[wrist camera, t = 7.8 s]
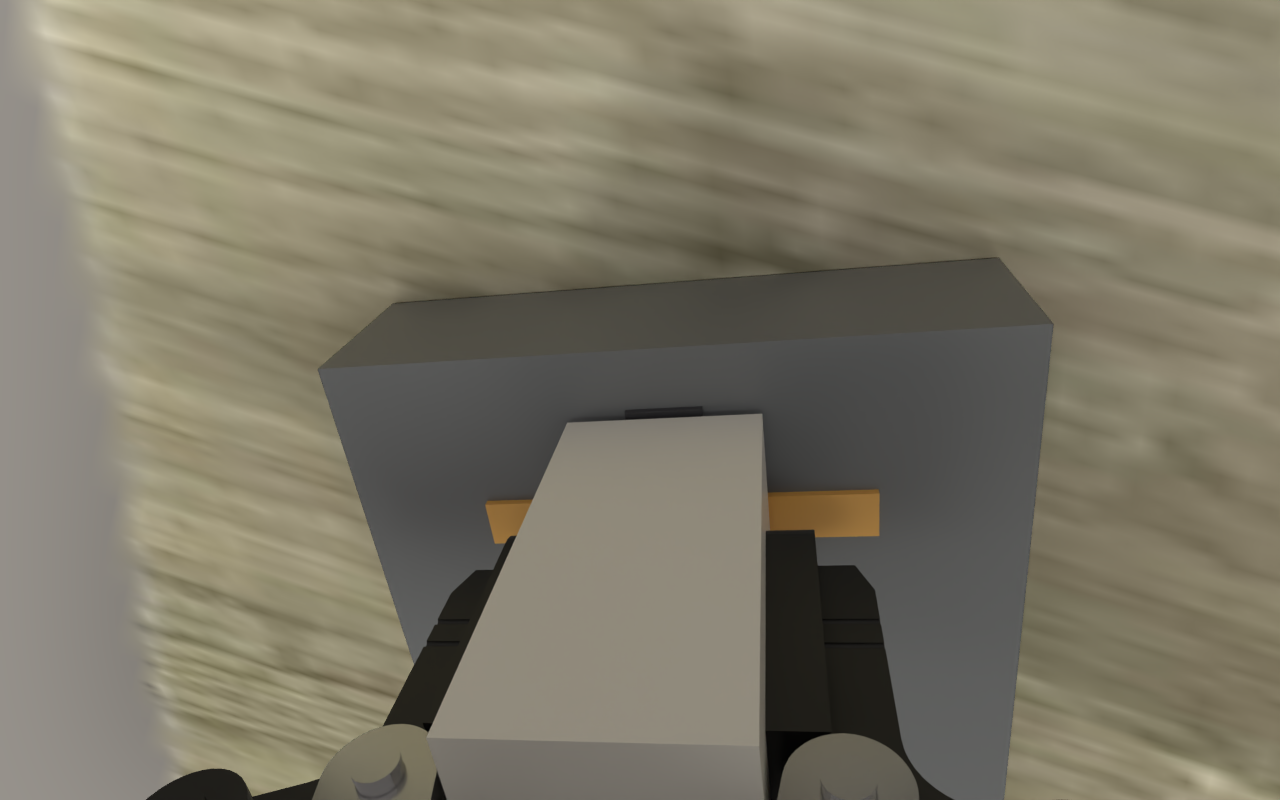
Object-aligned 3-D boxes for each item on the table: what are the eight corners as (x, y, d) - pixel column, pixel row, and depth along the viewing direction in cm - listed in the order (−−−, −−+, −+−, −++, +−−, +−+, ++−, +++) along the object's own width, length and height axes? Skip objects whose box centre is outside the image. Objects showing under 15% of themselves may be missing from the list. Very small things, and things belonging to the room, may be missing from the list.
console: (998, 257, 14) (1056, 326, 11) (951, 937, 22) (977, 1072, 19) (392, 303, 16) (314, 372, 13) (558, 912, 24) (531, 1032, 21)
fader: (762, 413, 12) (759, 776, 7) (776, 621, 14) (782, 1045, 8) (567, 422, 13) (414, 765, 7) (604, 621, 15) (503, 1019, 9)
